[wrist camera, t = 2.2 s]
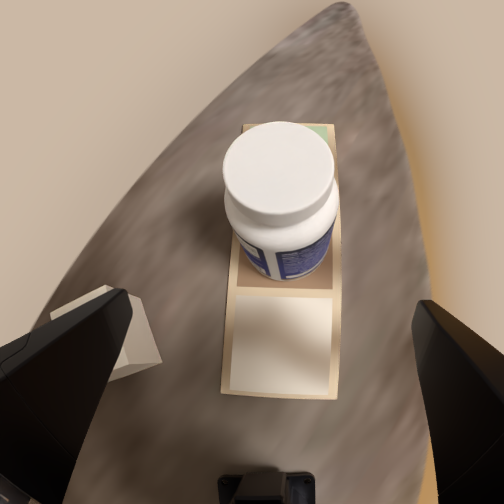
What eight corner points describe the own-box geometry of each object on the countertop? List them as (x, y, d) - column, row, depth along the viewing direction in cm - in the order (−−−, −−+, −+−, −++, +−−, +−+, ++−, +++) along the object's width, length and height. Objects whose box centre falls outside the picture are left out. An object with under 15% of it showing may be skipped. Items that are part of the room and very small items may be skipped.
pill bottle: (331, 209, 22) (349, 118, 13) (322, 288, 21) (344, 237, 11) (252, 200, 23) (225, 108, 14) (237, 276, 22) (194, 219, 12)
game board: (336, 398, 19) (336, 399, 19) (221, 392, 20) (220, 393, 20) (333, 125, 25) (333, 124, 25) (243, 125, 26) (243, 124, 26)
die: (163, 362, 21) (128, 364, 16) (108, 382, 21) (68, 385, 16) (140, 298, 23) (104, 284, 18) (90, 321, 23) (49, 312, 18)
